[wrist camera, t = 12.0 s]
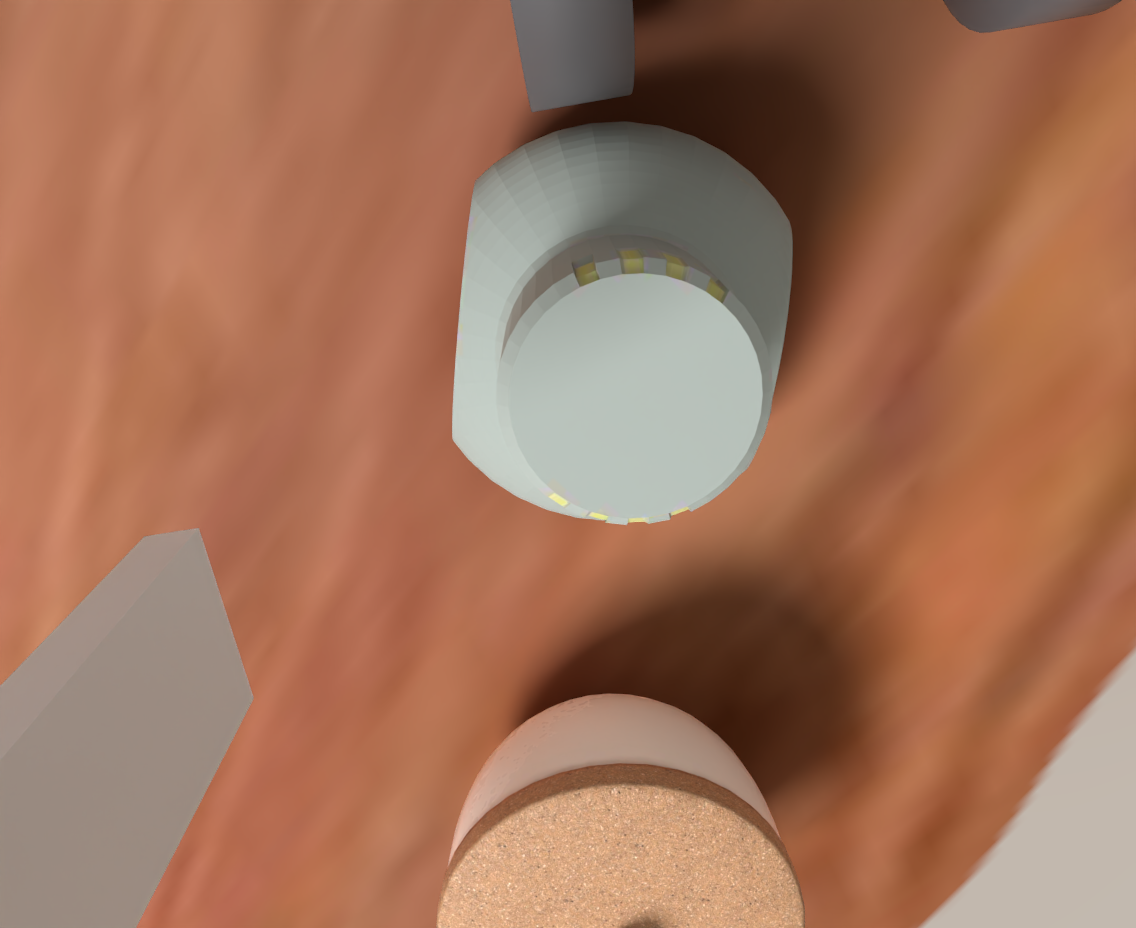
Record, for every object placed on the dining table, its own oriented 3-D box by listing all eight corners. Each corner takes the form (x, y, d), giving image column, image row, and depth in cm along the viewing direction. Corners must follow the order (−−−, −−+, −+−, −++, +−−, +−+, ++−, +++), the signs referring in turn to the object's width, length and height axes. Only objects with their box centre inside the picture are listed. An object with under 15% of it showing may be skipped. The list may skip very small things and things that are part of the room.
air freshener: (711, 490, 32) (780, 648, 22) (458, 464, 31) (419, 614, 22) (774, 141, 28) (889, 151, 18) (489, 104, 27) (458, 97, 18)
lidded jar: (397, 774, 35) (346, 995, 26) (605, 581, 33) (626, 753, 24) (607, 930, 38) (625, 1179, 29) (814, 763, 35) (902, 979, 26)
